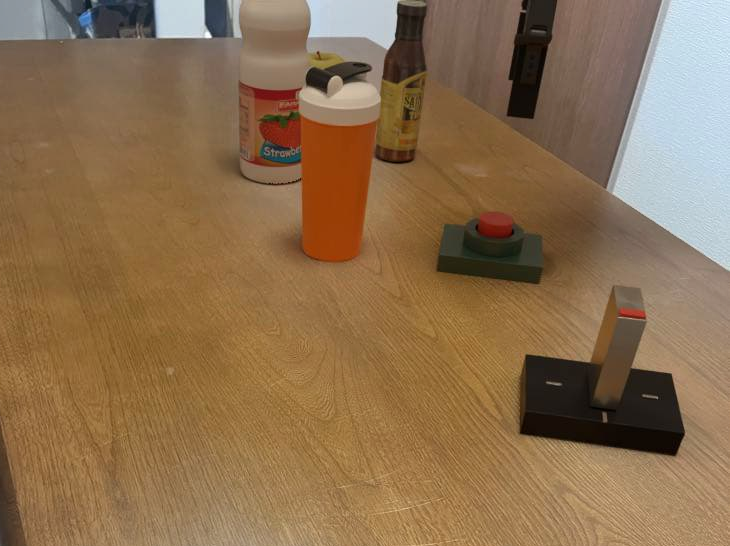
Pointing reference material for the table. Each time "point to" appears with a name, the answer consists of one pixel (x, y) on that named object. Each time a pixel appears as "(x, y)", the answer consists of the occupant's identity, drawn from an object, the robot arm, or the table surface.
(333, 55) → the apple
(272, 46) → the fruit juice
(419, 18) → the sauce bottle
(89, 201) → the table surface
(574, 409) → the panel
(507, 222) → the button
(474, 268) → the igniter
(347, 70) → the shaker bottle
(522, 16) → the robot arm
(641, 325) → the grey tall block
